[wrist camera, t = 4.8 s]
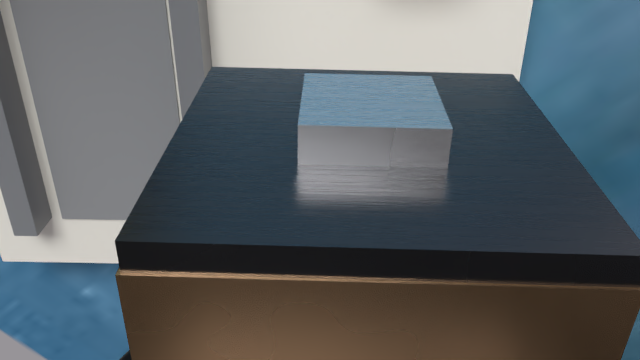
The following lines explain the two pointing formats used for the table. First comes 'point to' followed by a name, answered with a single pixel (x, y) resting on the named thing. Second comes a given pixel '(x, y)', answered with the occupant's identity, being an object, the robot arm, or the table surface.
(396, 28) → the cradle
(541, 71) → the table surface
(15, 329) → the table surface
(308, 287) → the battery
